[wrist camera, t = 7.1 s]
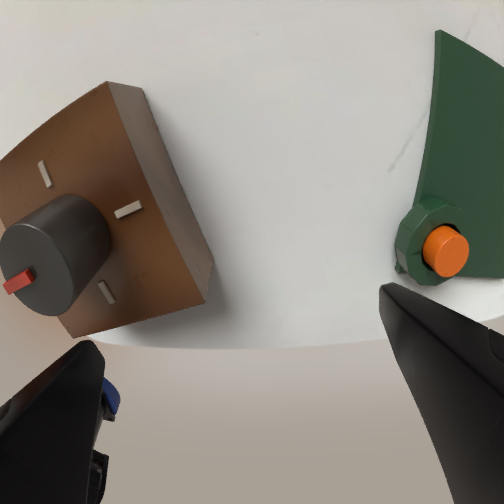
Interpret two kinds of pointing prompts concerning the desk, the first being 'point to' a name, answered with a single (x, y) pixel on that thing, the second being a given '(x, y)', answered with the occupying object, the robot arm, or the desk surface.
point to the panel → (114, 206)
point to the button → (445, 251)
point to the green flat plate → (460, 165)
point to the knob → (54, 254)
